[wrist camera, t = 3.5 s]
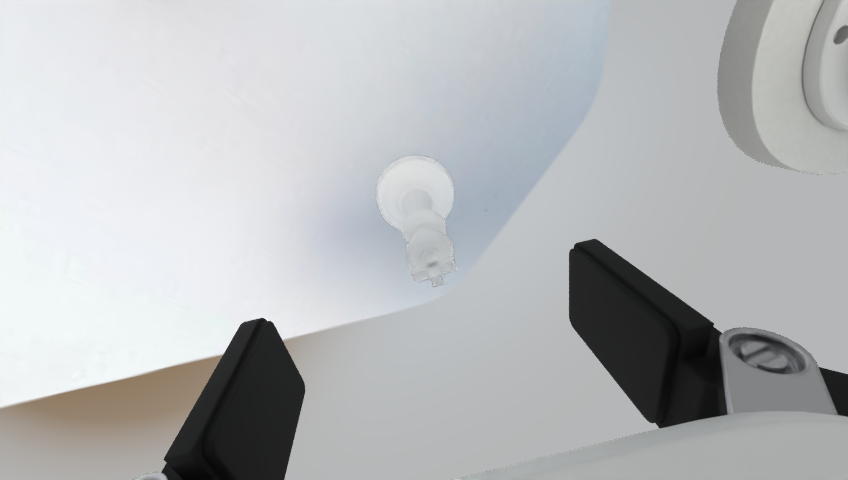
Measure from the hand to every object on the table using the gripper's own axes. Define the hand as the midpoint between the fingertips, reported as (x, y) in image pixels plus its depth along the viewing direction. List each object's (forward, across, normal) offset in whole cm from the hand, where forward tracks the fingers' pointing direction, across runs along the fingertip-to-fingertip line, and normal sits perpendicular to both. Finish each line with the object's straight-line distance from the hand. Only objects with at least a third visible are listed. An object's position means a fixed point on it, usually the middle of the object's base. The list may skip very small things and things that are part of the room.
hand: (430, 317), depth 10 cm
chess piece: (+12, -1, 0) cm, 12 cm away
